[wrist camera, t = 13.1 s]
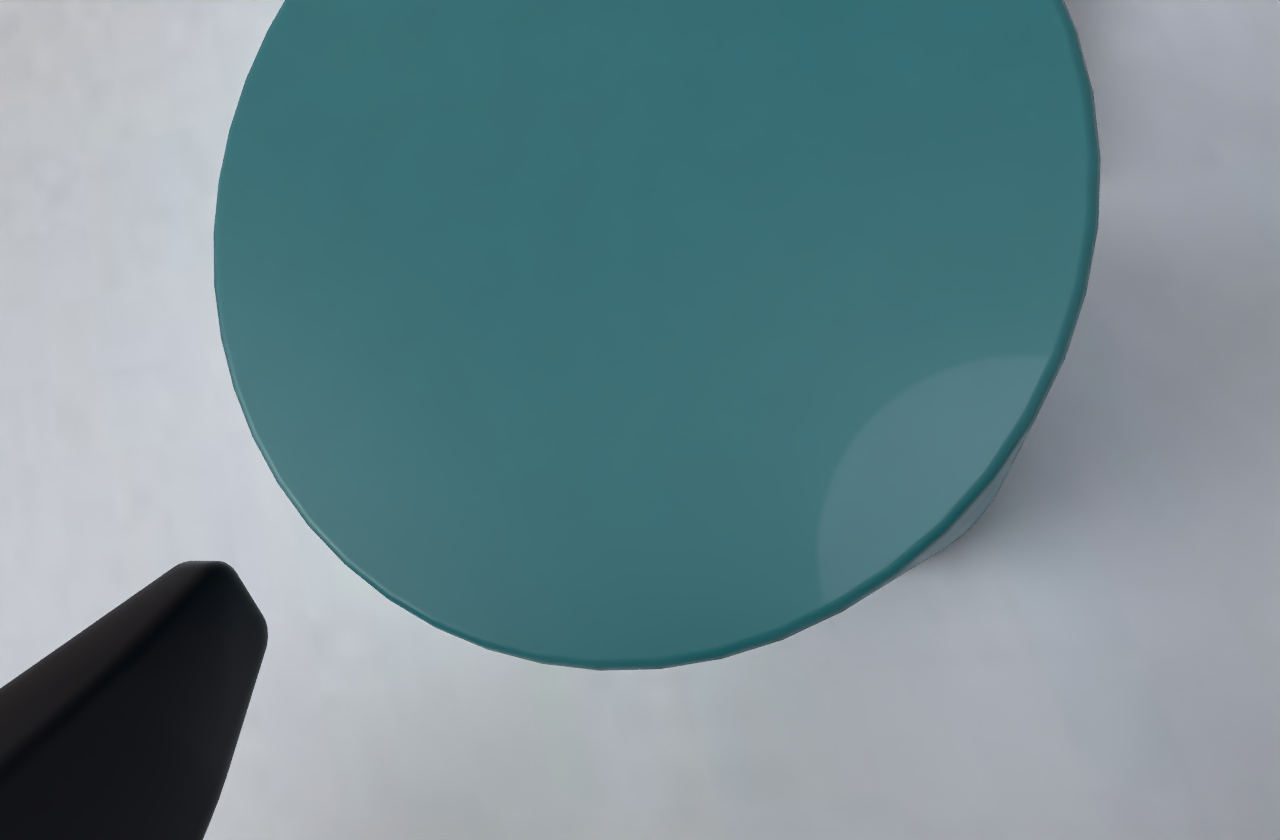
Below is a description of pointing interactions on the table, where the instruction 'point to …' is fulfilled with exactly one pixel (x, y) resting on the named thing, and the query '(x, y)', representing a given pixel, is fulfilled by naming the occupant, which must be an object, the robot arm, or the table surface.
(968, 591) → the table surface
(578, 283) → the jug
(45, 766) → the robot arm
